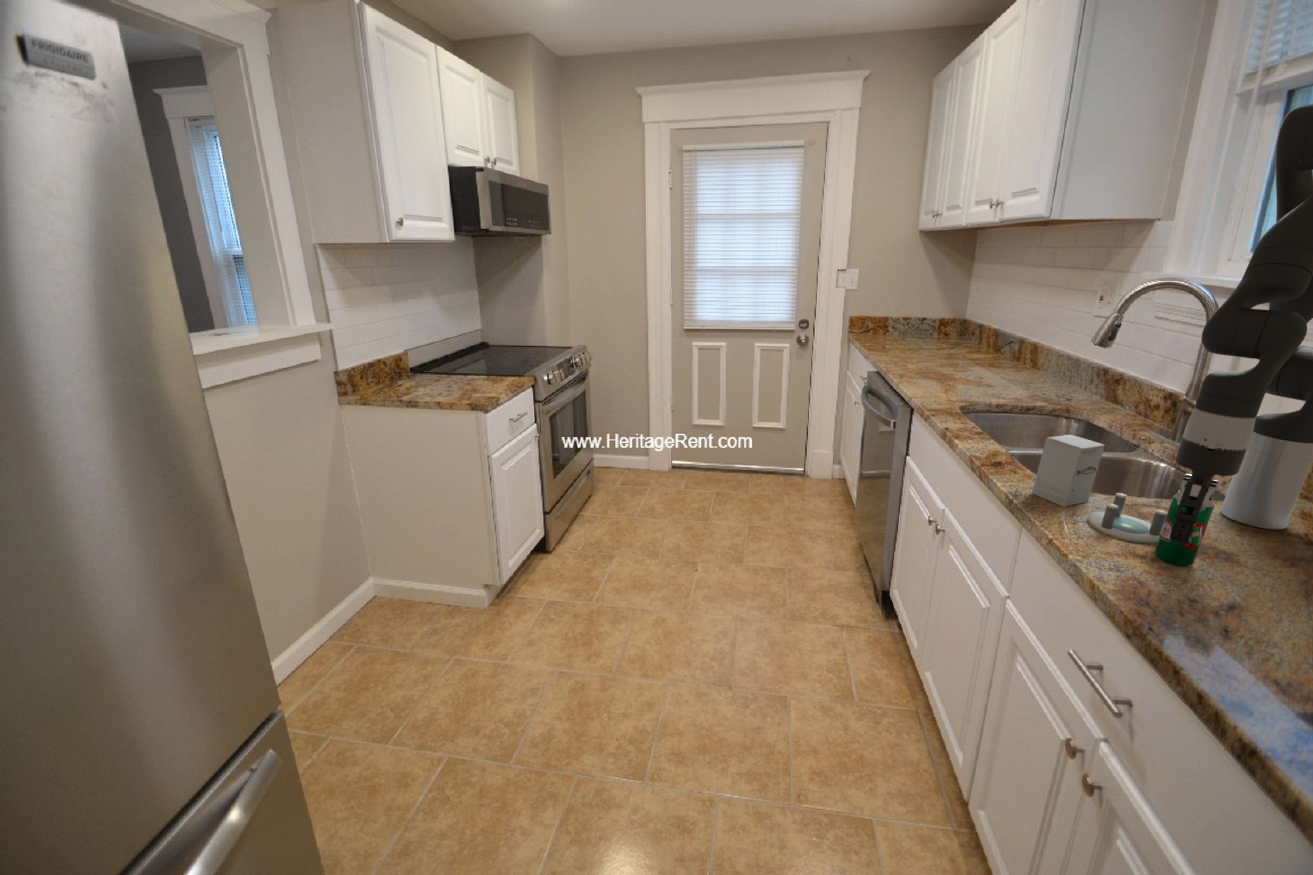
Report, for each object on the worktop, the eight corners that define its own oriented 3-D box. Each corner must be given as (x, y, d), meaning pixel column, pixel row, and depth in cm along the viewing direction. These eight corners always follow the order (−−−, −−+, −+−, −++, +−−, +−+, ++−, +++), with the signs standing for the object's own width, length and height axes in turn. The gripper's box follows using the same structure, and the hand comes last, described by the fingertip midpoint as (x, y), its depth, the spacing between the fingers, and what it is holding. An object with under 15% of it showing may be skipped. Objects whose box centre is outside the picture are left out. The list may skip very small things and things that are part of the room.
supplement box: (1065, 507, 117) (1081, 448, 113) (1030, 493, 124) (1044, 436, 119) (1089, 502, 120) (1106, 444, 116) (1054, 488, 126) (1069, 433, 122)
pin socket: (1095, 510, 116) (1102, 486, 114) (1166, 530, 109) (1175, 505, 107) (1081, 527, 109) (1088, 502, 107) (1156, 549, 101) (1165, 523, 100)
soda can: (1153, 549, 101) (1174, 485, 98) (1191, 559, 98) (1215, 494, 95) (1153, 561, 98) (1175, 495, 94) (1193, 572, 95) (1217, 504, 91)
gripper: (1189, 425, 98) (1160, 513, 104) (1176, 443, 89) (1145, 538, 94) (1251, 436, 93) (1217, 528, 98) (1244, 456, 84) (1207, 556, 89)
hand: (1182, 533), depth 96 cm, fingers open, 8 cm apart
